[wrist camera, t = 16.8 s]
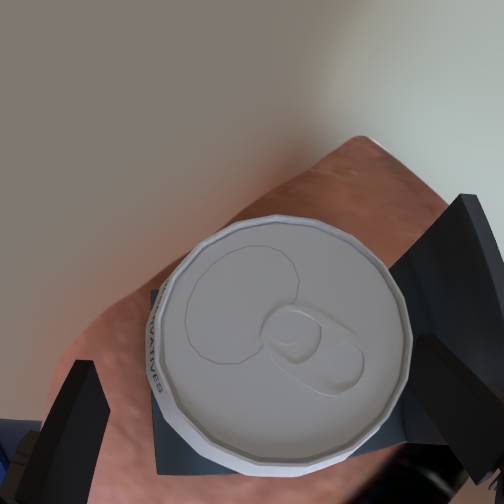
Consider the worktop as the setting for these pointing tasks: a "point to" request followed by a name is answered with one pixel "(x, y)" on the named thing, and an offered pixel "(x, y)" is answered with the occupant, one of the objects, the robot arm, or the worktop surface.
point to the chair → (412, 328)
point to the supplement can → (278, 346)
